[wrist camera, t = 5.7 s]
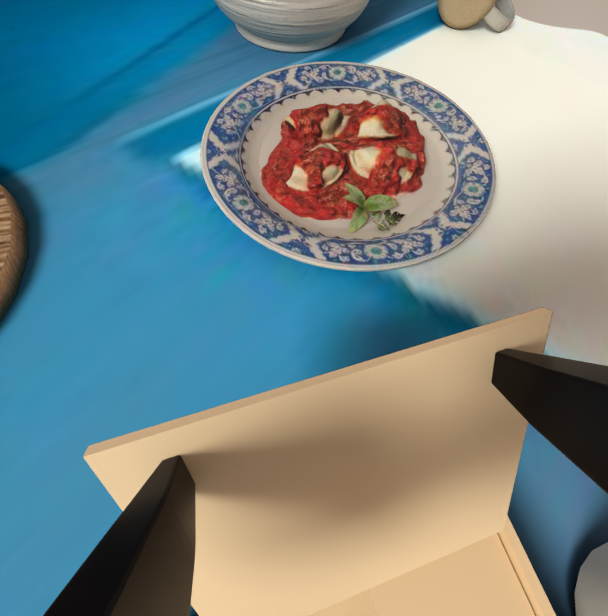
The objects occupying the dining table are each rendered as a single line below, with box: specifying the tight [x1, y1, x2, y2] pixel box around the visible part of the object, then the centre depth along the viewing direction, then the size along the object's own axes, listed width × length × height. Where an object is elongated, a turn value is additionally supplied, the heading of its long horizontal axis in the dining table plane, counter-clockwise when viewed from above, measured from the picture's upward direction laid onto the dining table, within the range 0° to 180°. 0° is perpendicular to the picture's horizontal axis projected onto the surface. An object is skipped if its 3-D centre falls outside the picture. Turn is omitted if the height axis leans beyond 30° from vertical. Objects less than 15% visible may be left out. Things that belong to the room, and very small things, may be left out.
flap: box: [83, 307, 553, 616], centre depth 10 cm, size 1×12×11 cm
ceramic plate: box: [200, 61, 496, 271], centre depth 27 cm, size 26×26×3 cm
